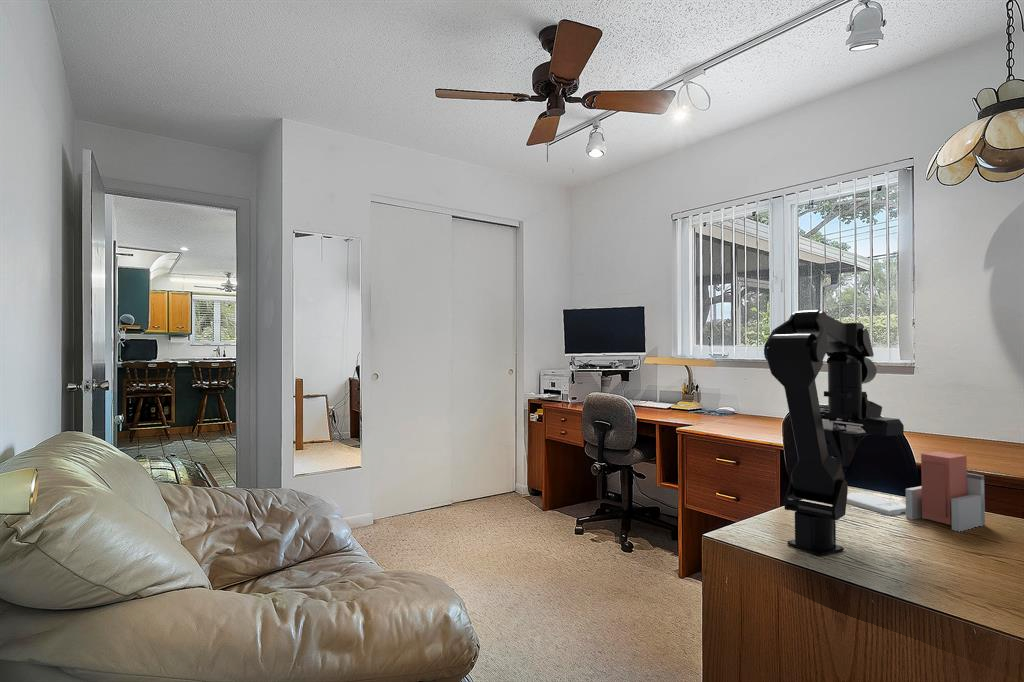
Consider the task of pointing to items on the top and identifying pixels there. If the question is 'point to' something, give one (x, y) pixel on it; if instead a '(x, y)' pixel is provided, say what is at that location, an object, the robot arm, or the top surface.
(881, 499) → the external hard drive
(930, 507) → the pink rectangular block
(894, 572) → the top surface
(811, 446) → the robot arm
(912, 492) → the socket block
